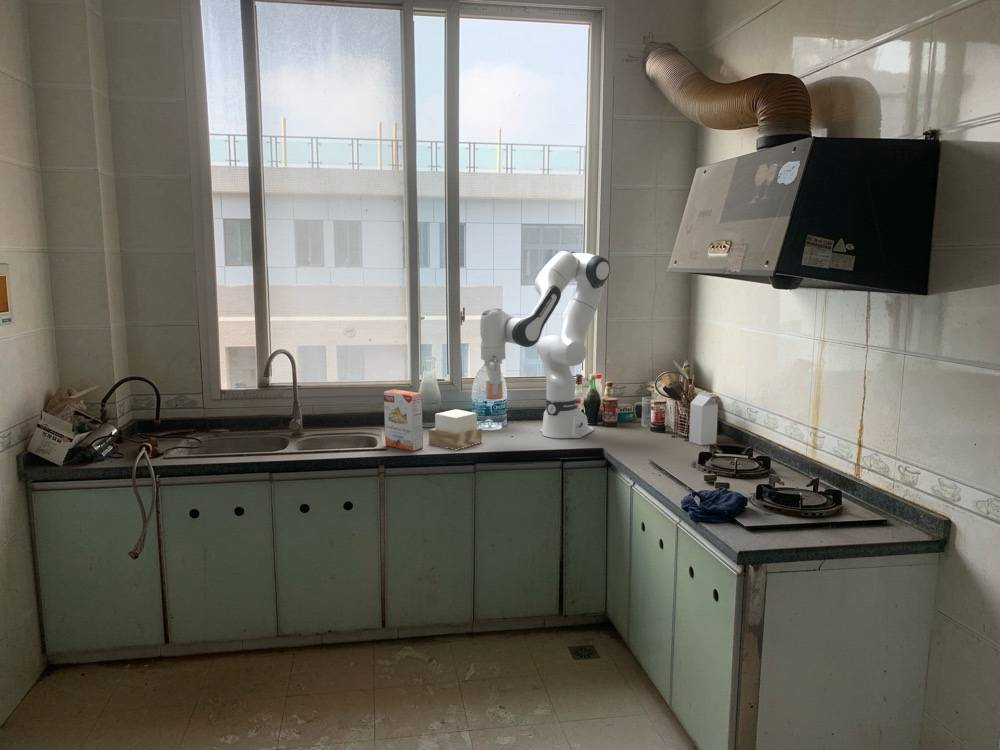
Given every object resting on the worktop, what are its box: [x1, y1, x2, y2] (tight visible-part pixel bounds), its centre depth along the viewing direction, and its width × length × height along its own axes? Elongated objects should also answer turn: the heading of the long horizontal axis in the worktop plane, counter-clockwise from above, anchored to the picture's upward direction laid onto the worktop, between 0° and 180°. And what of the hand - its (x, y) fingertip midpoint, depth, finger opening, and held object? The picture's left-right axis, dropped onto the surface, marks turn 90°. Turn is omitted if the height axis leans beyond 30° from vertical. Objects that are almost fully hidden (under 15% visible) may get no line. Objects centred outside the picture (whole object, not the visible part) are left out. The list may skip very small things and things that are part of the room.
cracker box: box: [383, 389, 424, 452], centre depth 272 cm, size 14×6×21 cm, turn 54°
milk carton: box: [688, 391, 719, 446], centre depth 276 cm, size 7×7×19 cm
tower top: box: [434, 408, 478, 434], centre depth 277 cm, size 11×11×6 cm
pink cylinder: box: [485, 380, 504, 401], centre depth 269 cm, size 6×6×6 cm
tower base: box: [428, 427, 483, 450], centre depth 278 cm, size 14×14×6 cm
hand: (494, 392), depth 269 cm, fingers closed on pink cylinder, 6 cm apart
